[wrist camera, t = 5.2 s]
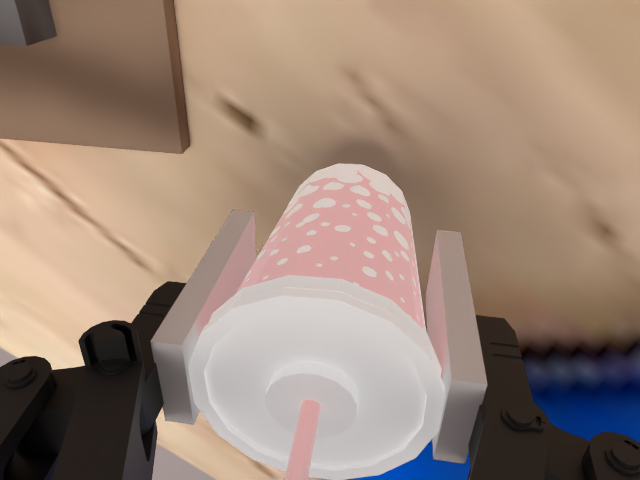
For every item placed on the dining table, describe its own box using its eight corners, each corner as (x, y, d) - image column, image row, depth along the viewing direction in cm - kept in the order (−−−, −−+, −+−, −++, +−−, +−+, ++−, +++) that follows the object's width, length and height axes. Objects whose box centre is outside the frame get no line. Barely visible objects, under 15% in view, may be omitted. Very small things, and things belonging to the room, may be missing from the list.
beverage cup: (253, 155, 19) (-6, 531, 7) (421, 130, 18) (447, 546, 6) (292, 289, 22) (154, 712, 10) (438, 277, 20) (479, 752, 9)
